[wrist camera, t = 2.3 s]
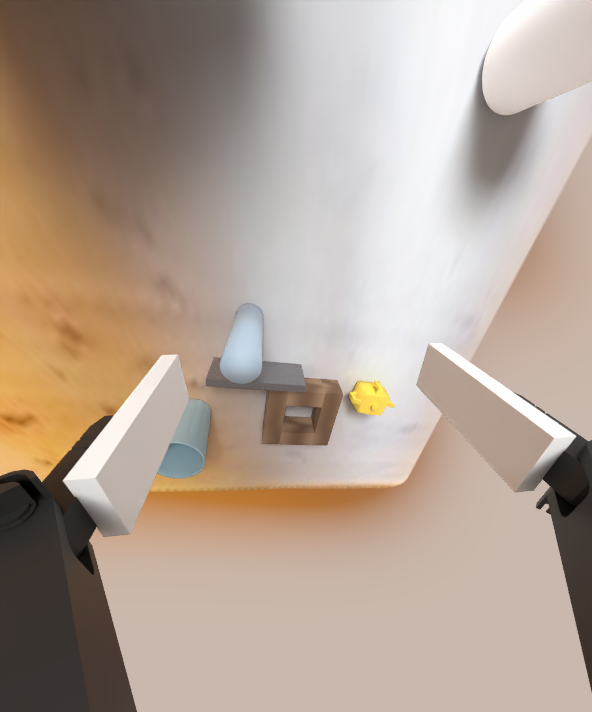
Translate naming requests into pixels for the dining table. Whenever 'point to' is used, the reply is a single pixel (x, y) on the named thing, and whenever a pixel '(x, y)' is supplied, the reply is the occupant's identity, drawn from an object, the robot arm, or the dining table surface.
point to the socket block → (302, 429)
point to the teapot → (370, 398)
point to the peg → (244, 346)
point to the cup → (188, 442)
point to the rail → (263, 377)
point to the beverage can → (538, 54)
